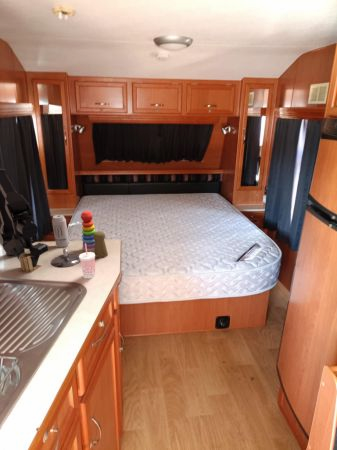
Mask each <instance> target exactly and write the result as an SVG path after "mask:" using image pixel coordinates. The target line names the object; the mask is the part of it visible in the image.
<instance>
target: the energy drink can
mask: <svg viewBox="0 0 337 450" xmlns="http://www.w3.org/2000/svg"><path fill="white" fill-rule="evenodd" d="M51 221H52V222H51V223H52V229H53V234H54V242H55V246H56V247H57V249H66V248H67V247H69V245H70V240H69V232H68V227H67V219H66V217H65V215H63V214H57V215H56V214H55V215H53V216H52V219H51Z"/></svg>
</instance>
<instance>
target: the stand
mask: <svg viewBox="0 0 337 450" xmlns="http://www.w3.org/2000/svg"><path fill="white" fill-rule="evenodd" d="M37 266H38V267H37V268H36V269H35V270H33V271H29V272H24V271H22V269H21V267H20V268H18V269H17V270H16V272H21V273H25V274H30V275H31V273H34V271H36V270H38V269H39V268H41V267H42V265H41V264H37Z"/></svg>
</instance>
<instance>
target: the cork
mask: <svg viewBox="0 0 337 450" xmlns="http://www.w3.org/2000/svg"><path fill="white" fill-rule="evenodd" d="M105 238H106V234H105V232H104V231H96V232H95V233H94V234H93V239H94V240H95V248H94V252H93V253H95V258H96V259H105V258H107V257H108V255H109V253H108V249H107V245H106V239H105Z"/></svg>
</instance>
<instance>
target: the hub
mask: <svg viewBox="0 0 337 450" xmlns="http://www.w3.org/2000/svg"><path fill="white" fill-rule="evenodd" d="M62 252H63V254H60V255H57V256H56V257H53V259H51V260H50V265H51V266H52V267H54V268H58V269H59V268H60V269H61V268H62V269H64V268H65V269H67V268H71V267H74V266H76V265H78V264H79V263H80V264H81V261H80V259H79V255H80V254H78V253H69V252H68V249H67V248H62Z"/></svg>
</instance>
